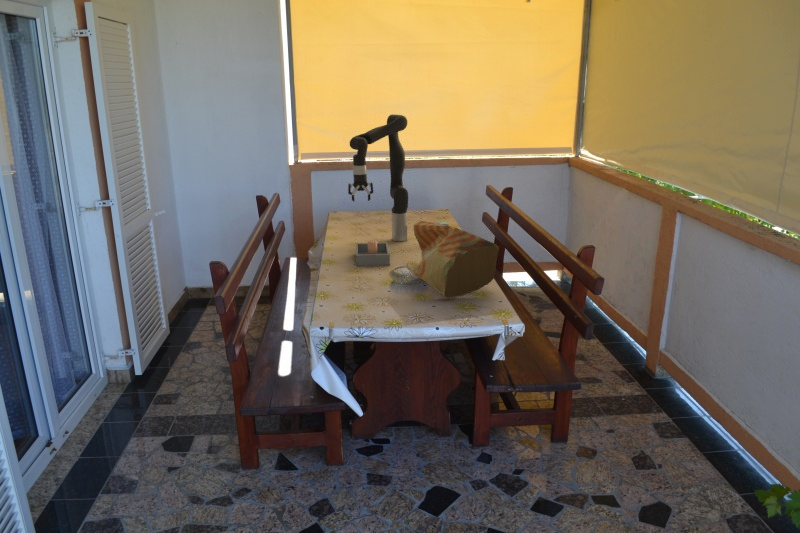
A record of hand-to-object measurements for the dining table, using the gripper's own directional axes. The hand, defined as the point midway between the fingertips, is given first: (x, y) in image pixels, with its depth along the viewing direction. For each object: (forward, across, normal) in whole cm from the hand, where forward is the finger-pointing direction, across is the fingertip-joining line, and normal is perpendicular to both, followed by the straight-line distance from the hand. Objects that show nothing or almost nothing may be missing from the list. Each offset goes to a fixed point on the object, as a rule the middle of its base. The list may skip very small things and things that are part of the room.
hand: (361, 201), depth 366 cm
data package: (+30, -46, -8) cm, 56 cm away
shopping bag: (+29, -38, +71) cm, 86 cm away
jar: (+28, -4, +21) cm, 35 cm away
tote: (+29, -4, +21) cm, 36 cm away
